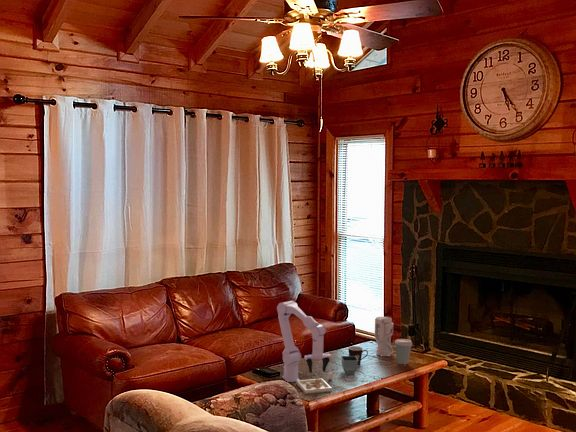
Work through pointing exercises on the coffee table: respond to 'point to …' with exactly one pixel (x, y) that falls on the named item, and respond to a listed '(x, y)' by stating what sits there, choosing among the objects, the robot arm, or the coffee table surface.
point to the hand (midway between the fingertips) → (317, 371)
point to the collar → (314, 384)
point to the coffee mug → (356, 352)
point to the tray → (309, 390)
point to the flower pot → (349, 364)
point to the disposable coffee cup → (403, 350)
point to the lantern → (383, 335)
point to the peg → (330, 377)
